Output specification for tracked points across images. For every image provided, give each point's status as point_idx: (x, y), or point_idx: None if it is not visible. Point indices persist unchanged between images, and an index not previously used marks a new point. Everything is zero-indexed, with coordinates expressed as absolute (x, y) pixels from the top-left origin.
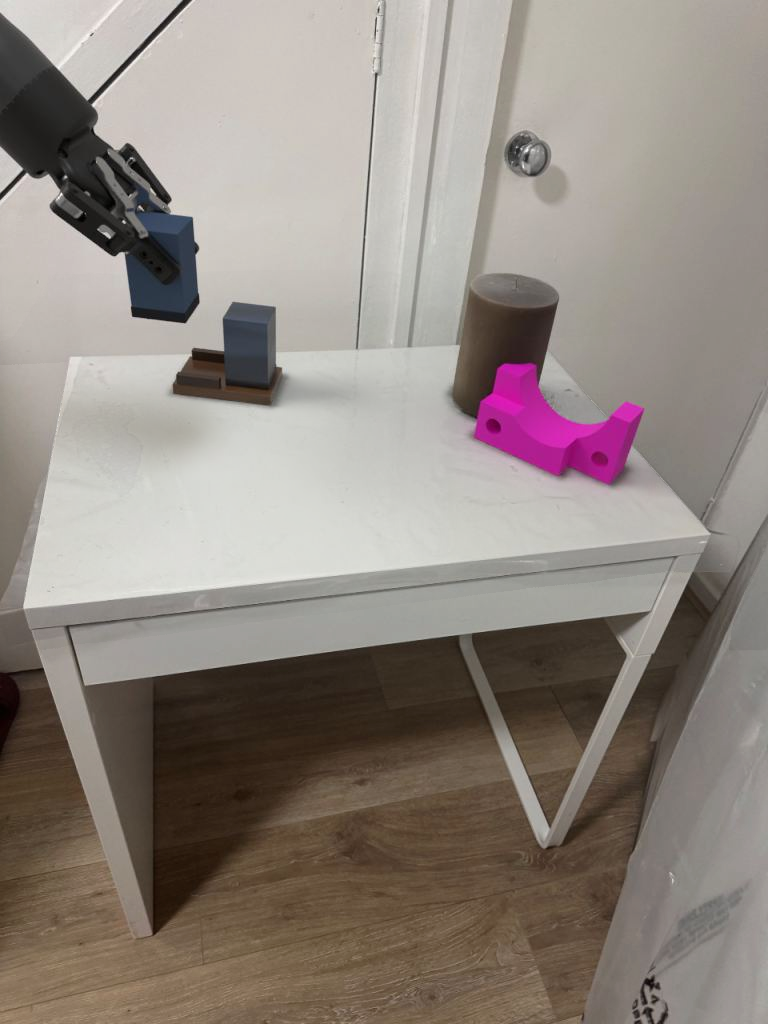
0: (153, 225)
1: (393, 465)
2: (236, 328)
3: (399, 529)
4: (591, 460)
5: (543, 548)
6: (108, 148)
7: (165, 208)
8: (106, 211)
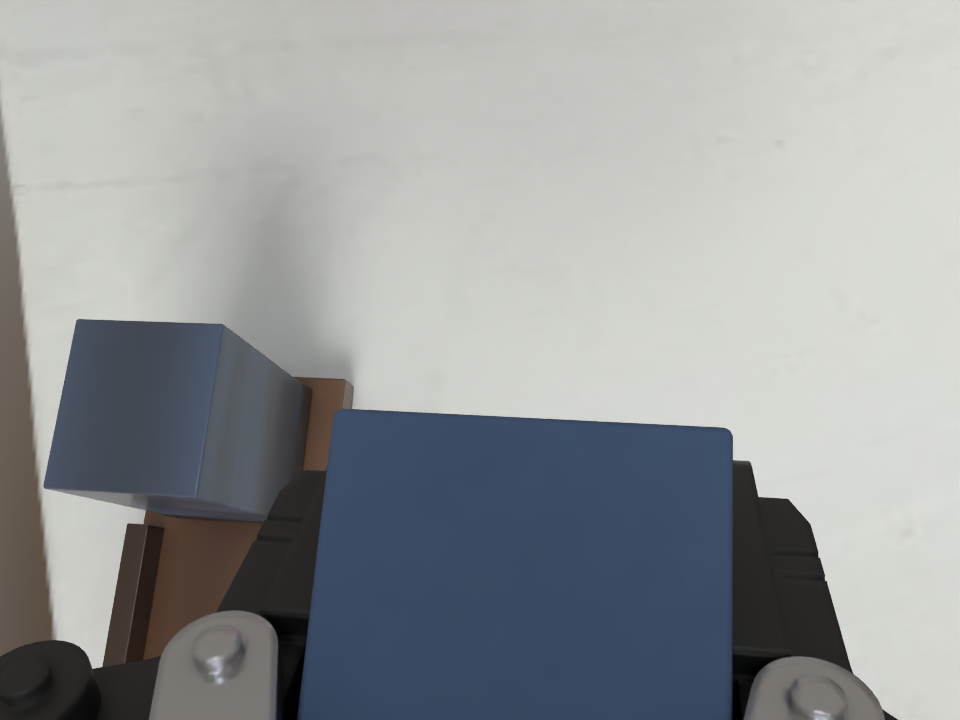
0: (614, 657)
1: (597, 46)
2: (219, 448)
3: (856, 13)
4: None
5: None
6: None
7: (245, 644)
8: None
